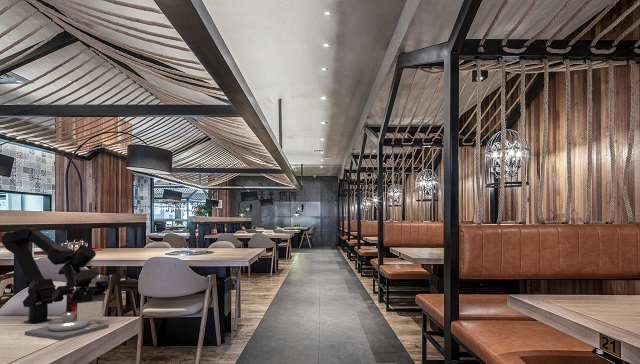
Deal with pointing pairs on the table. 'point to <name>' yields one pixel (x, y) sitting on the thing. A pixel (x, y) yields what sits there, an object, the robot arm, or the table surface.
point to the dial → (78, 317)
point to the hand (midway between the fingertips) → (90, 308)
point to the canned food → (71, 306)
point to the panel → (63, 335)
